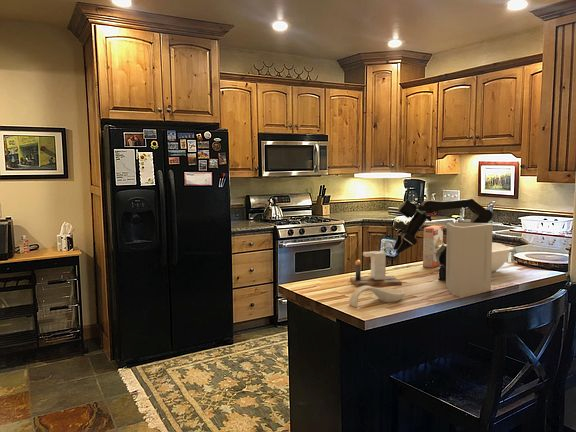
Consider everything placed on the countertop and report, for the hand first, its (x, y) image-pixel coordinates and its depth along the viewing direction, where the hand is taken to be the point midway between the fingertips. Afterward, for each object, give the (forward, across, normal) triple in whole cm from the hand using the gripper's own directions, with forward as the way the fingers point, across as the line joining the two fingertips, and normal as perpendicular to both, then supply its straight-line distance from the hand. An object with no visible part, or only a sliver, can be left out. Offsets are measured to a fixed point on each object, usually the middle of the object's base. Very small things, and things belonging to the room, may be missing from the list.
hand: (395, 251), depth 215 cm
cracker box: (-4, -33, +29) cm, 44 cm away
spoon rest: (+19, +37, -2) cm, 42 cm away
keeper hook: (+20, +7, -8) cm, 23 cm away
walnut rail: (+17, +5, 0) cm, 18 cm away
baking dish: (-14, -20, +43) cm, 49 cm away
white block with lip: (+16, +6, -2) cm, 17 cm away
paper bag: (-3, +18, +28) cm, 34 cm away
